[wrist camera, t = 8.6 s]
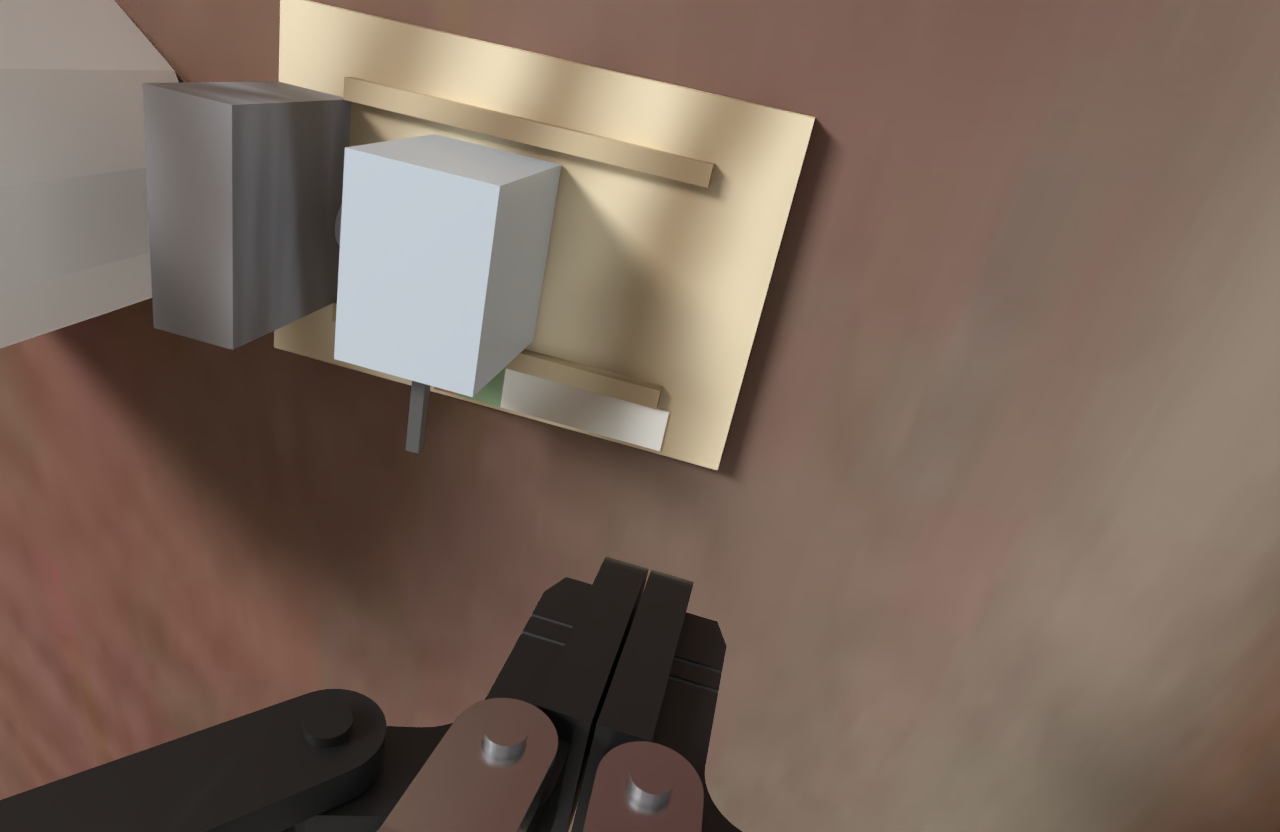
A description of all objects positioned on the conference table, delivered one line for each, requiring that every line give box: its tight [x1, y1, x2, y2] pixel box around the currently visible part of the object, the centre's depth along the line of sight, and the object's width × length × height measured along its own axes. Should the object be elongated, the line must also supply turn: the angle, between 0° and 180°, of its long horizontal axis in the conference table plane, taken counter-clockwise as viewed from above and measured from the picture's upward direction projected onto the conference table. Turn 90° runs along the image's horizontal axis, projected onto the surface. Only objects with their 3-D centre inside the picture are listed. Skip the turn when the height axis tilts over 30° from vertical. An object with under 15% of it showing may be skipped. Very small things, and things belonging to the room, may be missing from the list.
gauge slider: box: [334, 134, 562, 454], centre depth 30 cm, size 7×10×6 cm, turn 168°
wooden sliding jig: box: [142, 0, 815, 470], centre depth 29 cm, size 20×14×8 cm
